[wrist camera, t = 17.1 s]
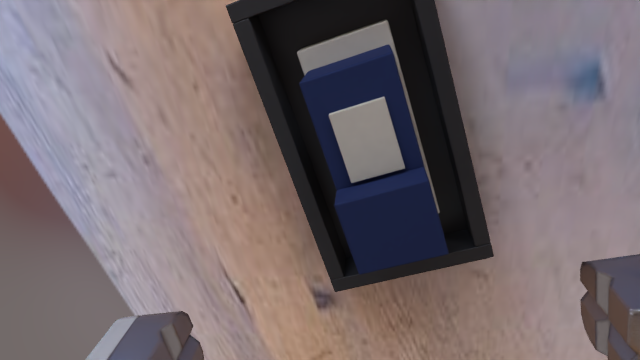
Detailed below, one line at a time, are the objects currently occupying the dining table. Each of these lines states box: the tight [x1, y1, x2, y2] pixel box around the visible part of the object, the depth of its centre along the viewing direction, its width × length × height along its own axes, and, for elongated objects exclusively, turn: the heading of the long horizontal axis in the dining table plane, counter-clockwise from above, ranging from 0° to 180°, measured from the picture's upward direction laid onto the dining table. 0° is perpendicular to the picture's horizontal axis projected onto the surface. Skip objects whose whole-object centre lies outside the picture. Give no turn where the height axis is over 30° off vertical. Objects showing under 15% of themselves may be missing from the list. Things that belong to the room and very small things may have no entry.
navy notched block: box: [297, 19, 449, 275], centre depth 21 cm, size 10×4×6 cm, turn 19°
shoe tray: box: [226, 0, 494, 292], centre depth 23 cm, size 16×9×2 cm, turn 19°
